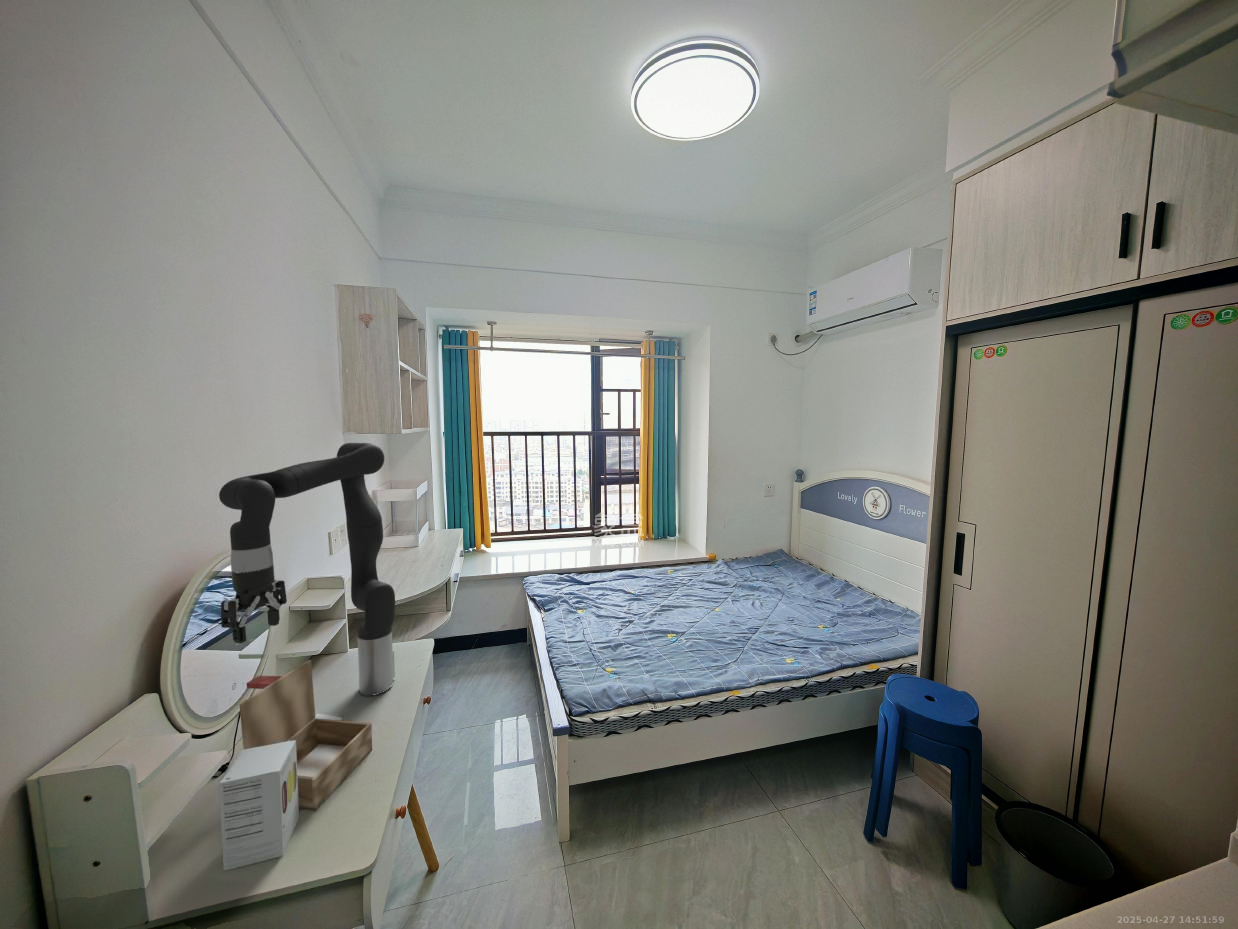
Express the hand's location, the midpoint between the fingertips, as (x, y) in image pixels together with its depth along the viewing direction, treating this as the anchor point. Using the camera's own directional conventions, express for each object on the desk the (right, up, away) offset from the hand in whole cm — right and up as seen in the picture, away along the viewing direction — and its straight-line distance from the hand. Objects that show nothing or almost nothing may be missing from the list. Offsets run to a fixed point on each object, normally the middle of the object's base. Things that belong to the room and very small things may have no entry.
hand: (257, 633), depth 104 cm
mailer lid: (+7, -17, -1) cm, 19 cm away
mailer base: (+14, -32, -1) cm, 35 cm away
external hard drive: (+4, -32, +13) cm, 34 cm away
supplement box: (+16, -34, -18) cm, 41 cm away
